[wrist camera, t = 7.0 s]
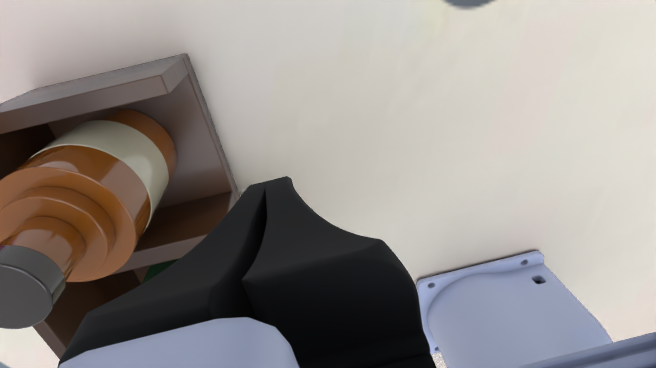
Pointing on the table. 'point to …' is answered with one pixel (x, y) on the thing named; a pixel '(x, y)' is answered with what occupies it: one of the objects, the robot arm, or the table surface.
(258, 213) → the robot arm
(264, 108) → the table surface
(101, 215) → the amber bottle
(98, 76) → the rack
